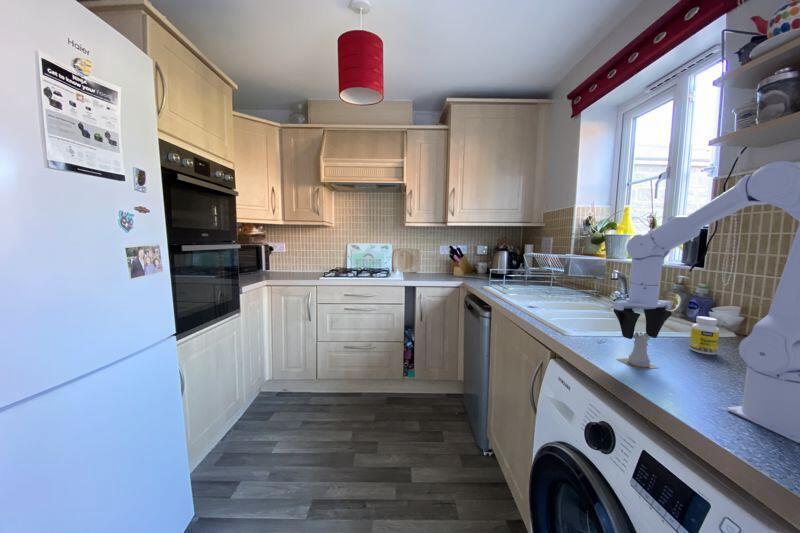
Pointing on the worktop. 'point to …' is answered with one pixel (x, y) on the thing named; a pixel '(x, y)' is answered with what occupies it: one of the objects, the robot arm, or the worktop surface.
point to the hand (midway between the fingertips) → (639, 337)
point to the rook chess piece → (640, 351)
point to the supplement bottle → (704, 336)
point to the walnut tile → (636, 366)
